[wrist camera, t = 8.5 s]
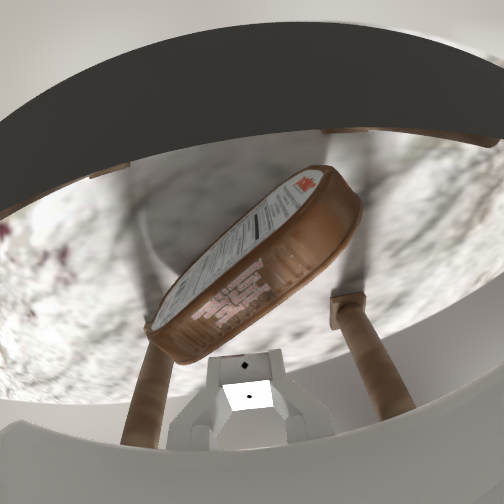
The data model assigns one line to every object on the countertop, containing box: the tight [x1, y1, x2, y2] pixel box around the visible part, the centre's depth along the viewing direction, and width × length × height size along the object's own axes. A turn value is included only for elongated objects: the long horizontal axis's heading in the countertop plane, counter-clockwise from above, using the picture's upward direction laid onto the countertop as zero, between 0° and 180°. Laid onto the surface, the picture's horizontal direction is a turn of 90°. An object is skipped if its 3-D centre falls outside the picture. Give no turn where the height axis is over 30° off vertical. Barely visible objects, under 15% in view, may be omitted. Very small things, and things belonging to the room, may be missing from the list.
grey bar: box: [0, 22, 504, 212], centre depth 4 cm, size 18×2×2 cm, turn 98°
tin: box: [146, 165, 363, 365], centre depth 16 cm, size 15×3×8 cm, turn 132°
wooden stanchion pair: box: [0, 127, 500, 449], centre depth 14 cm, size 19×19×12 cm
